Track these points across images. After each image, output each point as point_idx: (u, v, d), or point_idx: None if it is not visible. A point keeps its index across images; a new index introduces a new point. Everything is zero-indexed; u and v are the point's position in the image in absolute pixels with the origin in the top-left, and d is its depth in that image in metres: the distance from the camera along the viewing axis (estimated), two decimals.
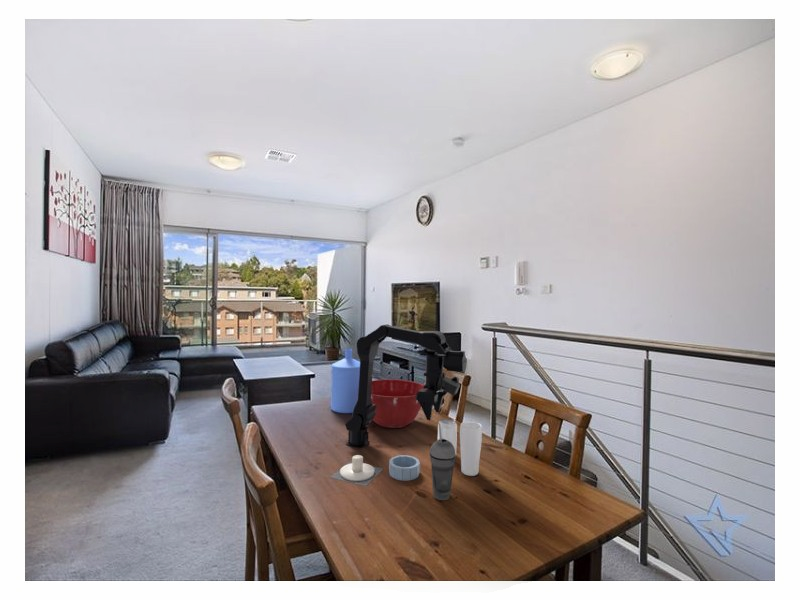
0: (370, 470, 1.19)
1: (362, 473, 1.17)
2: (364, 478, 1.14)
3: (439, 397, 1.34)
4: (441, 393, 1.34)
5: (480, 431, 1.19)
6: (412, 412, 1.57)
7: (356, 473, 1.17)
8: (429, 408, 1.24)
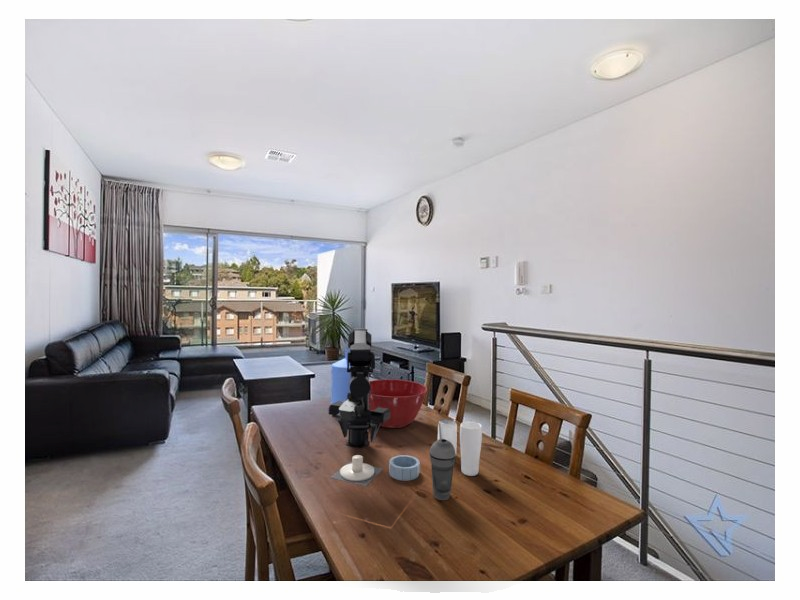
0: (370, 470, 1.19)
1: (362, 473, 1.17)
2: (364, 478, 1.14)
3: None
4: None
5: (480, 431, 1.19)
6: (412, 412, 1.57)
7: (356, 473, 1.17)
8: None
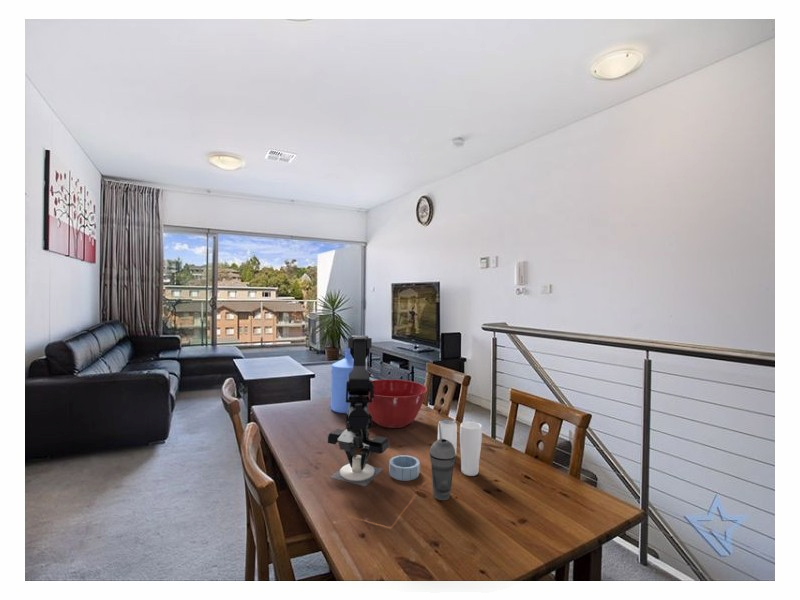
0: (370, 470, 1.19)
1: (362, 473, 1.17)
2: (364, 478, 1.14)
3: None
4: None
5: (480, 431, 1.19)
6: (412, 412, 1.57)
7: (356, 473, 1.17)
8: None
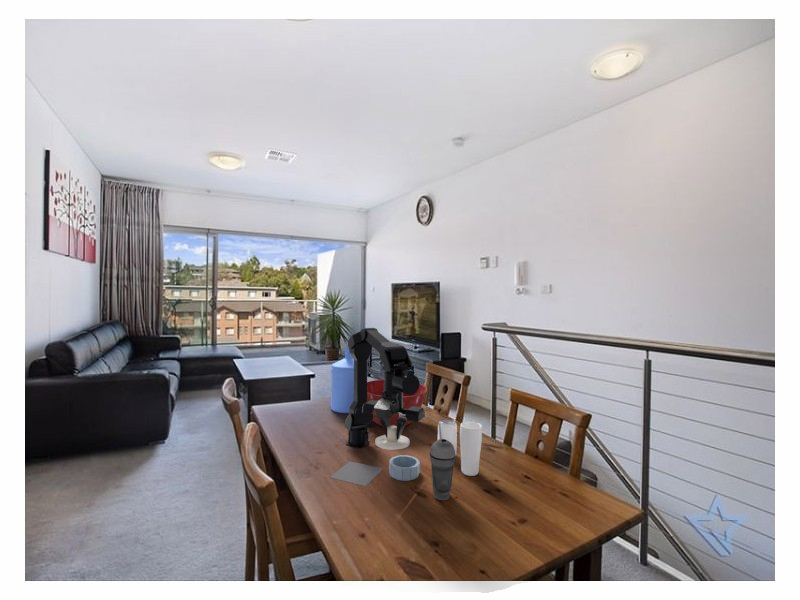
0: (405, 440, 1.18)
1: (398, 442, 1.17)
2: (400, 447, 1.14)
3: None
4: None
5: (480, 431, 1.19)
6: None
7: (392, 443, 1.16)
8: None
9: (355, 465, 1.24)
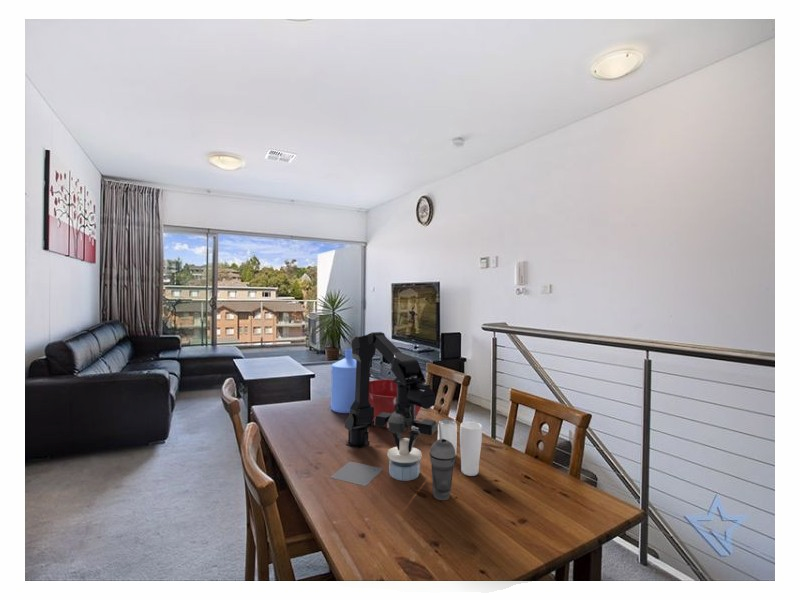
0: (417, 453, 1.19)
1: (410, 455, 1.17)
2: (413, 460, 1.15)
3: None
4: None
5: (480, 431, 1.19)
6: None
7: (404, 455, 1.17)
8: None
9: (355, 465, 1.24)
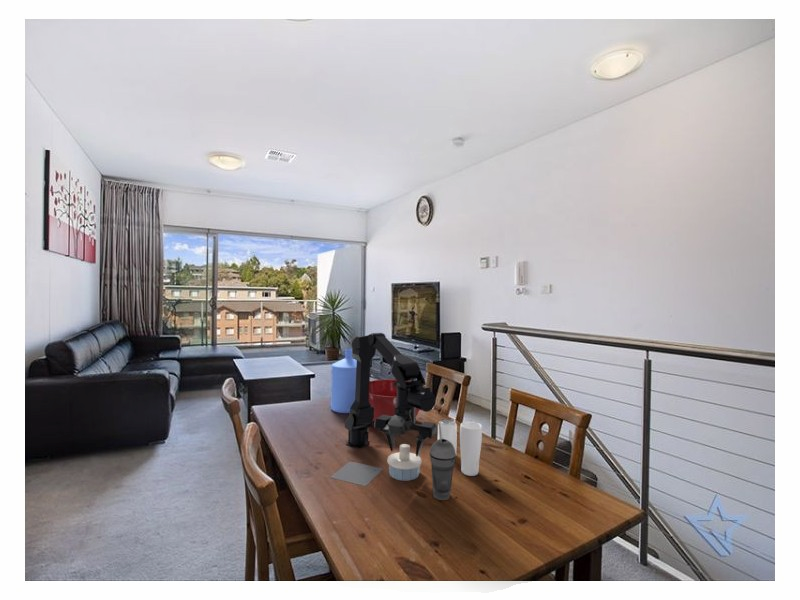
0: (417, 459, 1.19)
1: (410, 461, 1.17)
2: (413, 466, 1.15)
3: None
4: None
5: (480, 431, 1.19)
6: None
7: (404, 462, 1.17)
8: None
9: (355, 465, 1.24)
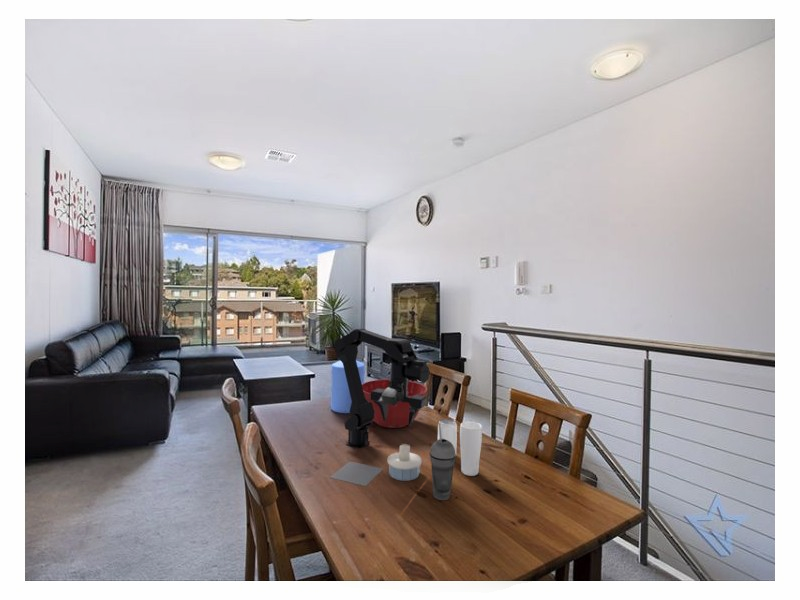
0: (417, 459, 1.19)
1: (410, 461, 1.17)
2: (413, 466, 1.15)
3: None
4: None
5: (480, 431, 1.19)
6: None
7: (404, 462, 1.17)
8: None
9: (355, 465, 1.24)
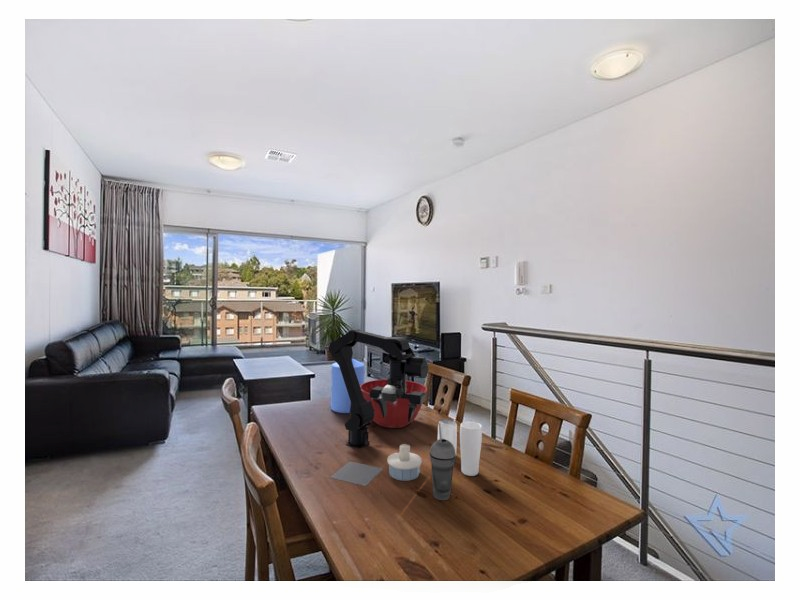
0: (417, 459, 1.19)
1: (410, 461, 1.17)
2: (413, 466, 1.15)
3: None
4: None
5: (480, 431, 1.19)
6: None
7: (404, 462, 1.17)
8: None
9: (355, 465, 1.24)
